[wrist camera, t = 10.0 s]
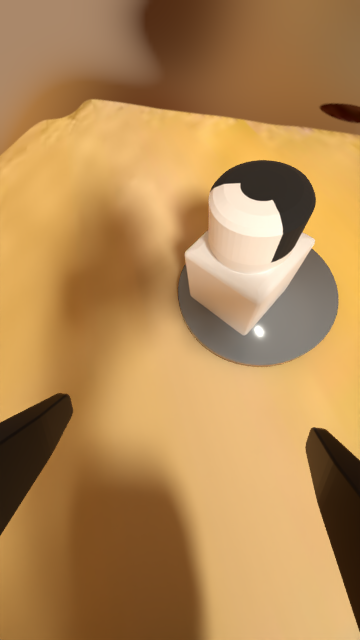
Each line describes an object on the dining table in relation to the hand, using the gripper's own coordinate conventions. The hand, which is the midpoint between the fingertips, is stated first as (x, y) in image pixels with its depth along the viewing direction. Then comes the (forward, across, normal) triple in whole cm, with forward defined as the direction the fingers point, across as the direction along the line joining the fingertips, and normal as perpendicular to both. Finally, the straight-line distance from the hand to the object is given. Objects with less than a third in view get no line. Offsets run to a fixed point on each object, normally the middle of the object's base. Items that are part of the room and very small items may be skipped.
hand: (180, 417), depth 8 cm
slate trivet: (+19, -5, 0) cm, 20 cm away
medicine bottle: (+18, -3, 0) cm, 18 cm away
